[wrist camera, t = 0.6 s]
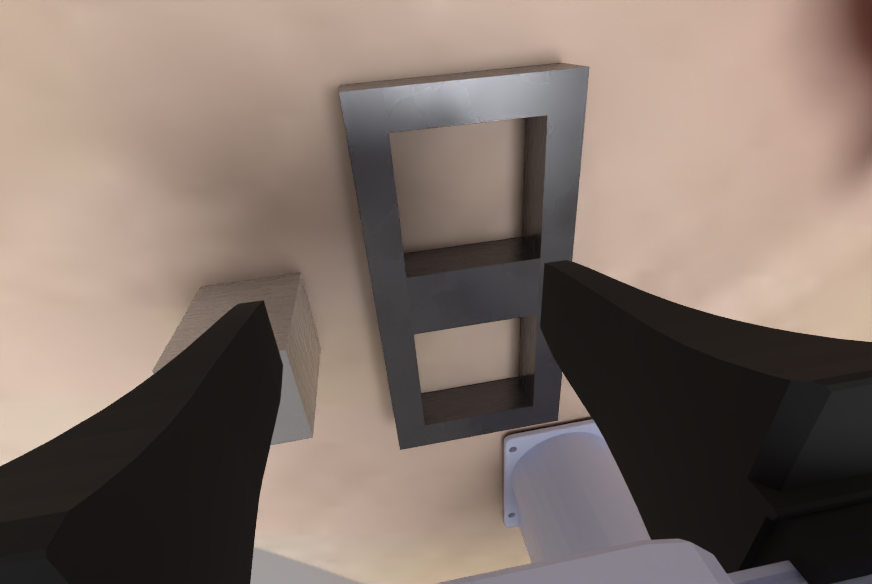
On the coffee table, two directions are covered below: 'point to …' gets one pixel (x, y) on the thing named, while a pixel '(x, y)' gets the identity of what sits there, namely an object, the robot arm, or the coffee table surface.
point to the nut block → (291, 337)
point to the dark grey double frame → (476, 263)
